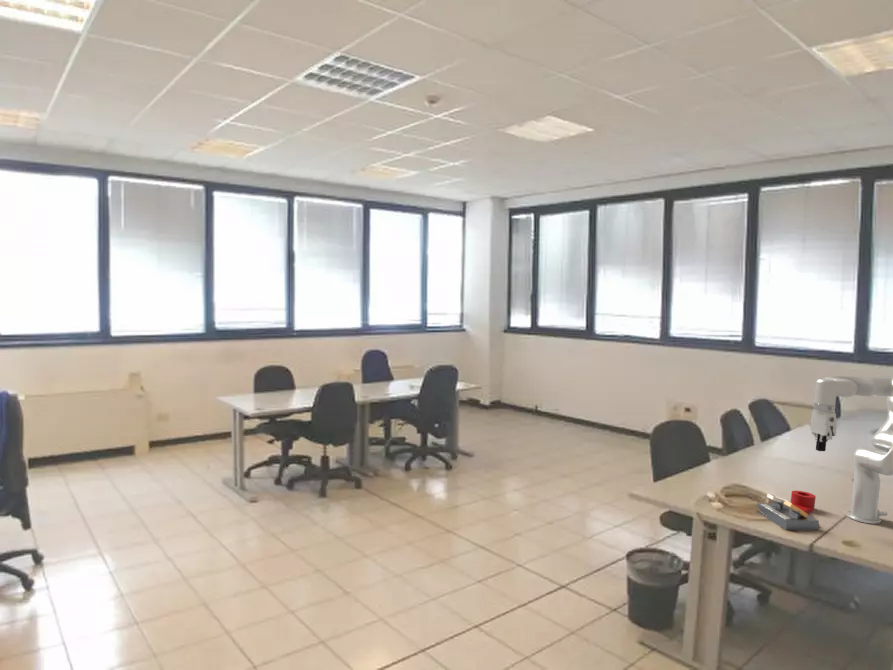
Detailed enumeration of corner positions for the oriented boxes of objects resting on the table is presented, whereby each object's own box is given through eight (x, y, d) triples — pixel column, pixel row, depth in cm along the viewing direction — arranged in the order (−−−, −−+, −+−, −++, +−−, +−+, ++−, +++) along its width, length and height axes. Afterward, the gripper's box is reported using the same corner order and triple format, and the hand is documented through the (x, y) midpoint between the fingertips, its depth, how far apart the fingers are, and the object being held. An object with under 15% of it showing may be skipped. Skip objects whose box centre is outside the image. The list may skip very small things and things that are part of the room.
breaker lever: (799, 514, 256) (801, 510, 256) (806, 518, 251) (809, 514, 251) (782, 503, 255) (785, 499, 255) (790, 507, 250) (792, 503, 250)
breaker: (783, 503, 267) (785, 499, 267) (790, 507, 262) (792, 503, 262) (765, 496, 266) (767, 492, 266) (772, 500, 261) (774, 496, 261)
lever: (791, 503, 281) (793, 489, 281) (814, 508, 276) (816, 494, 275) (786, 512, 267) (787, 498, 266) (810, 518, 261) (812, 503, 261)
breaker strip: (786, 512, 269) (787, 500, 268) (817, 530, 249) (819, 516, 249) (756, 512, 268) (757, 499, 267) (786, 529, 248) (787, 516, 247)
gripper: (845, 411, 248) (841, 455, 249) (820, 404, 263) (816, 446, 264) (828, 411, 247) (824, 455, 248) (803, 404, 262) (800, 445, 263)
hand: (820, 450), depth 256 cm, fingers closed
